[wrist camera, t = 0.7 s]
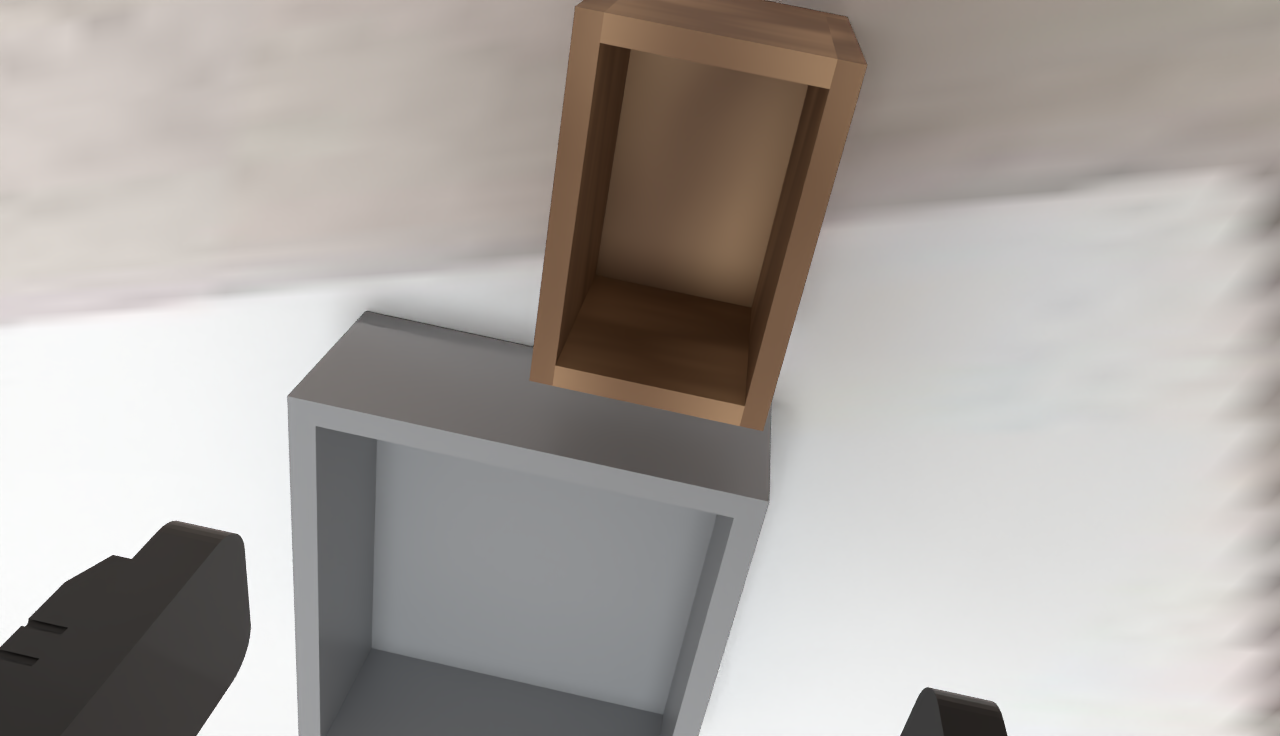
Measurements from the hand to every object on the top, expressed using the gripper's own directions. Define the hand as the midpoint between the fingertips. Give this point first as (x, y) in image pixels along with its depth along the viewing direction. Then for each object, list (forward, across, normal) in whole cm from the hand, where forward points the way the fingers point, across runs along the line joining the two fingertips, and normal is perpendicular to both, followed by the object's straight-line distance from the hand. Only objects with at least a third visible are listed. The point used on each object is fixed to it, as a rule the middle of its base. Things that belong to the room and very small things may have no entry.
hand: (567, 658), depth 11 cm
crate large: (+18, +3, +14) cm, 23 cm away
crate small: (+18, 0, -1) cm, 18 cm away
